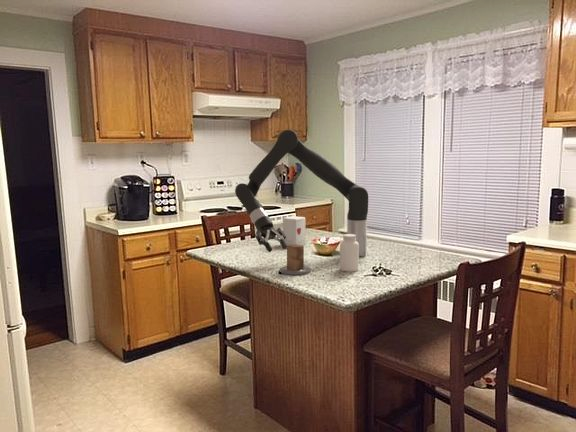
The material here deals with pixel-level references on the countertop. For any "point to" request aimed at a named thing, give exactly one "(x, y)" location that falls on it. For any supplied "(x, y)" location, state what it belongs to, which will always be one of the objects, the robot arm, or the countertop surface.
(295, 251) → the walnut block
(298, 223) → the supplement box
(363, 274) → the countertop surface
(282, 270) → the disc
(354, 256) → the pill bottle
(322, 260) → the countertop surface
